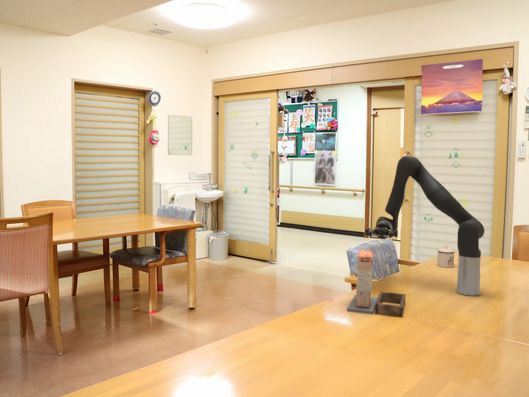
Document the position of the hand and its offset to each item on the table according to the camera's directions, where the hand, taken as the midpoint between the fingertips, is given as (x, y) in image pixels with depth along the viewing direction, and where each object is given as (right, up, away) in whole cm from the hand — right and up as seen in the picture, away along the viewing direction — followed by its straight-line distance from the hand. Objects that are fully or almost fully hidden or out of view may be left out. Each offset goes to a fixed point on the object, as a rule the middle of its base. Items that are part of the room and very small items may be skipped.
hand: (379, 235), depth 213 cm
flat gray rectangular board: (-10, -28, -12) cm, 32 cm away
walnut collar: (+1, -29, -16) cm, 33 cm away
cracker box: (-10, -27, -12) cm, 31 cm away
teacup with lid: (+52, -22, +62) cm, 84 cm away
